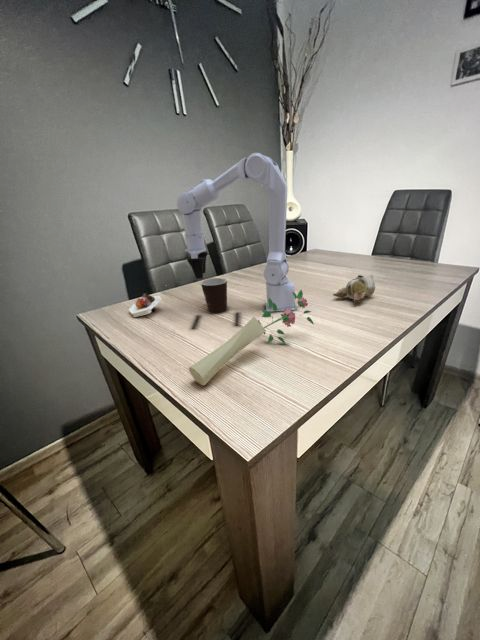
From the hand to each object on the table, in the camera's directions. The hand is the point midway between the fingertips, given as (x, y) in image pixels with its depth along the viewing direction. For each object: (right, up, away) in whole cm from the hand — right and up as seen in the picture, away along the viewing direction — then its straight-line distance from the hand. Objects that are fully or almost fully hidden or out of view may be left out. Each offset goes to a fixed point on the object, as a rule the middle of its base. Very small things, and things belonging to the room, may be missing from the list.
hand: (201, 275), depth 97 cm
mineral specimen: (-19, -13, 0) cm, 23 cm away
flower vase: (+20, -28, -29) cm, 45 cm away
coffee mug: (+7, -12, 0) cm, 14 cm away
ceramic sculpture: (+56, -8, +1) cm, 56 cm away
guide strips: (+7, -17, -10) cm, 21 cm away
